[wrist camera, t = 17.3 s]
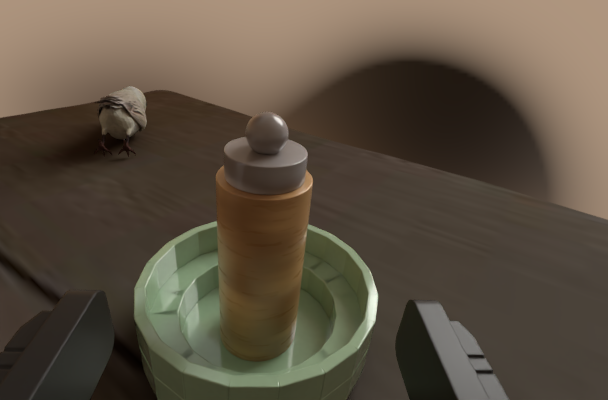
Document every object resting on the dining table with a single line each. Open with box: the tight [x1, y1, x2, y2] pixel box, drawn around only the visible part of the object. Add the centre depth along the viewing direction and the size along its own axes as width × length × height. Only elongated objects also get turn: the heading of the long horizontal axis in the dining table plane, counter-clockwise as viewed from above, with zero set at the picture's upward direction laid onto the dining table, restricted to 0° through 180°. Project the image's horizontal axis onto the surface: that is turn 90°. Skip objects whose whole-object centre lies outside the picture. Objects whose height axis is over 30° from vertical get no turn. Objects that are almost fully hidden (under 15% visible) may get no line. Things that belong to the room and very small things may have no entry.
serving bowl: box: [134, 221, 378, 400], centre depth 23 cm, size 14×14×5 cm
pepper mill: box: [216, 112, 313, 362], centre depth 20 cm, size 5×5×14 cm
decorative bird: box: [94, 86, 147, 157], centre depth 50 cm, size 5×16×8 cm, turn 11°
